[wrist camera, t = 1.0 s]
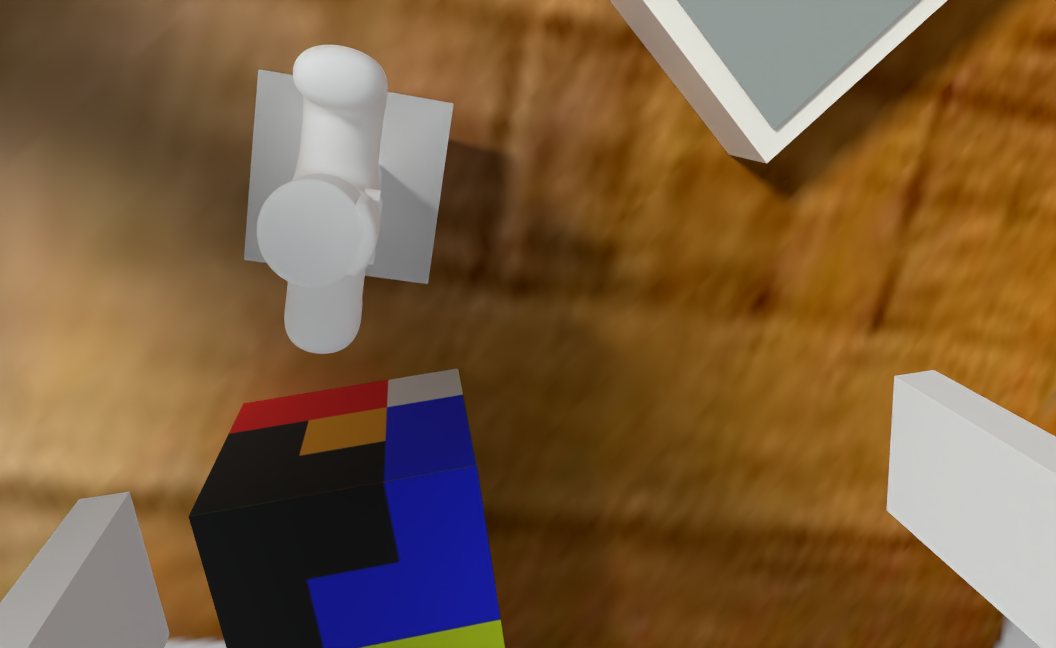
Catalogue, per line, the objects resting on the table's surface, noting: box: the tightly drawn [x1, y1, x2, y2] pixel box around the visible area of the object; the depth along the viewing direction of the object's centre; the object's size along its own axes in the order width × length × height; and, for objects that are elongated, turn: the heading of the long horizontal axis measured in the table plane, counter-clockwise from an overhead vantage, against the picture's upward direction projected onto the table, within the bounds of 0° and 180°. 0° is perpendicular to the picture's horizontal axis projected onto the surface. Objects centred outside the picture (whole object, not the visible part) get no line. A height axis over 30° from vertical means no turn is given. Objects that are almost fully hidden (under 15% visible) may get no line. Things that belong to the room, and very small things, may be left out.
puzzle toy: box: [189, 368, 505, 648], centre depth 34 cm, size 10×10×10 cm
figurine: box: [244, 45, 454, 354], centre depth 27 cm, size 7×9×15 cm
